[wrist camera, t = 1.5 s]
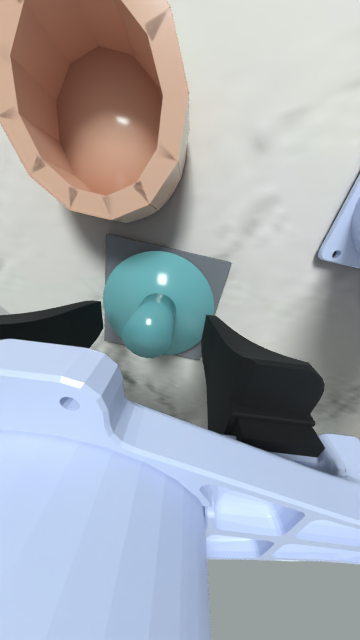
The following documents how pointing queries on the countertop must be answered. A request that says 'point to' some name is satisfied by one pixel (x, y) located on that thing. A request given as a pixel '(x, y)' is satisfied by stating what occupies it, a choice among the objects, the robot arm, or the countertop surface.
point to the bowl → (96, 101)
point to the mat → (210, 267)
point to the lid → (157, 303)
